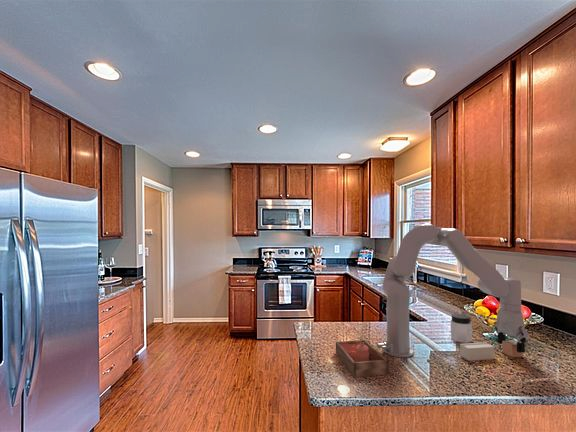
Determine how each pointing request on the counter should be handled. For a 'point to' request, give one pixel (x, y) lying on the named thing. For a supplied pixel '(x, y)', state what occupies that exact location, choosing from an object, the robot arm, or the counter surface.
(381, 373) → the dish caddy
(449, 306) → the counter surface
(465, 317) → the jar
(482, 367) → the counter surface
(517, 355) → the stub
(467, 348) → the beige box
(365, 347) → the pottery
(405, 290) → the robot arm
